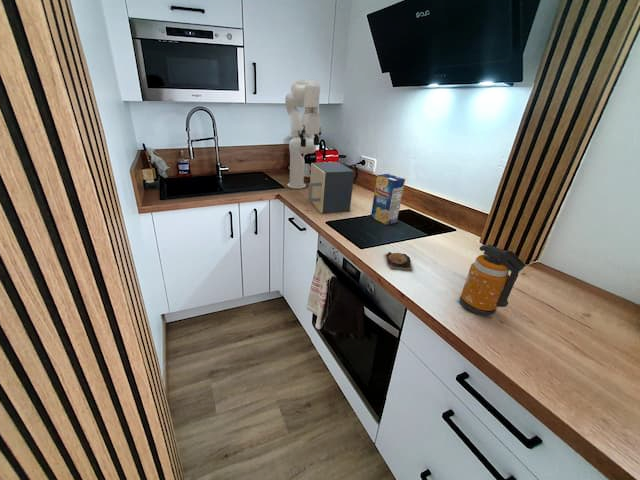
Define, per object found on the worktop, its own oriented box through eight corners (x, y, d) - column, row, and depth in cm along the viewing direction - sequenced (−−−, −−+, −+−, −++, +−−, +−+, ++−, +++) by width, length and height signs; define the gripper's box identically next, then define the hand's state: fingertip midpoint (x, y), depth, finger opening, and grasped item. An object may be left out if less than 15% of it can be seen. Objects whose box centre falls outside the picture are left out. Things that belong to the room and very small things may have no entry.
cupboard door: (309, 213, 149) (311, 173, 140) (298, 199, 168) (300, 163, 159) (322, 213, 150) (325, 172, 141) (310, 199, 169) (312, 162, 161)
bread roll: (413, 272, 101) (415, 263, 99) (388, 269, 102) (390, 260, 101) (407, 256, 111) (409, 248, 109) (384, 254, 112) (386, 246, 110)
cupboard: (323, 213, 150) (326, 172, 141) (311, 199, 170) (313, 162, 161) (349, 211, 152) (354, 171, 143) (335, 198, 172) (338, 161, 163)
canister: (466, 293, 90) (486, 237, 82) (507, 312, 82) (533, 253, 74) (453, 304, 85) (472, 245, 77) (495, 326, 77) (522, 264, 69)
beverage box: (386, 225, 137) (394, 180, 128) (370, 216, 146) (377, 175, 137) (396, 222, 140) (405, 179, 131) (380, 214, 149) (387, 173, 140)
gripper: (317, 110, 151) (315, 143, 158) (293, 111, 141) (292, 146, 148) (328, 111, 146) (325, 145, 153) (304, 111, 136) (302, 148, 143)
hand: (309, 145), depth 150 cm, fingers open, 9 cm apart
